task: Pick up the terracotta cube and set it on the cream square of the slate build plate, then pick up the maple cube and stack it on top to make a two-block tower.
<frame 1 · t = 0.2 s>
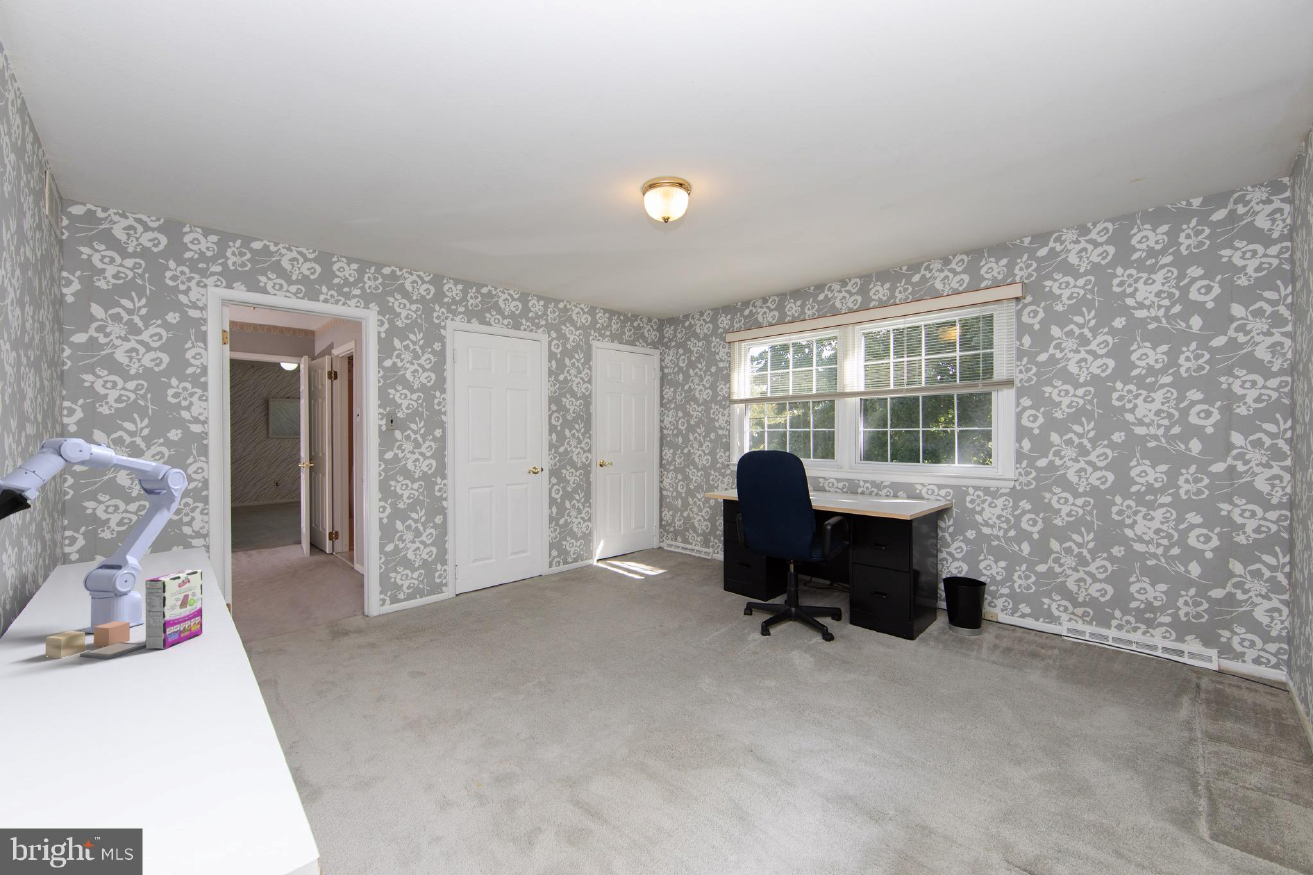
maple cube: (65, 654, 131), on the worktop
candy bar box: (174, 642, 139), on the worktop
terracotta cube: (111, 643, 138), on the worktop
build plate: (113, 651, 132), on the worktop
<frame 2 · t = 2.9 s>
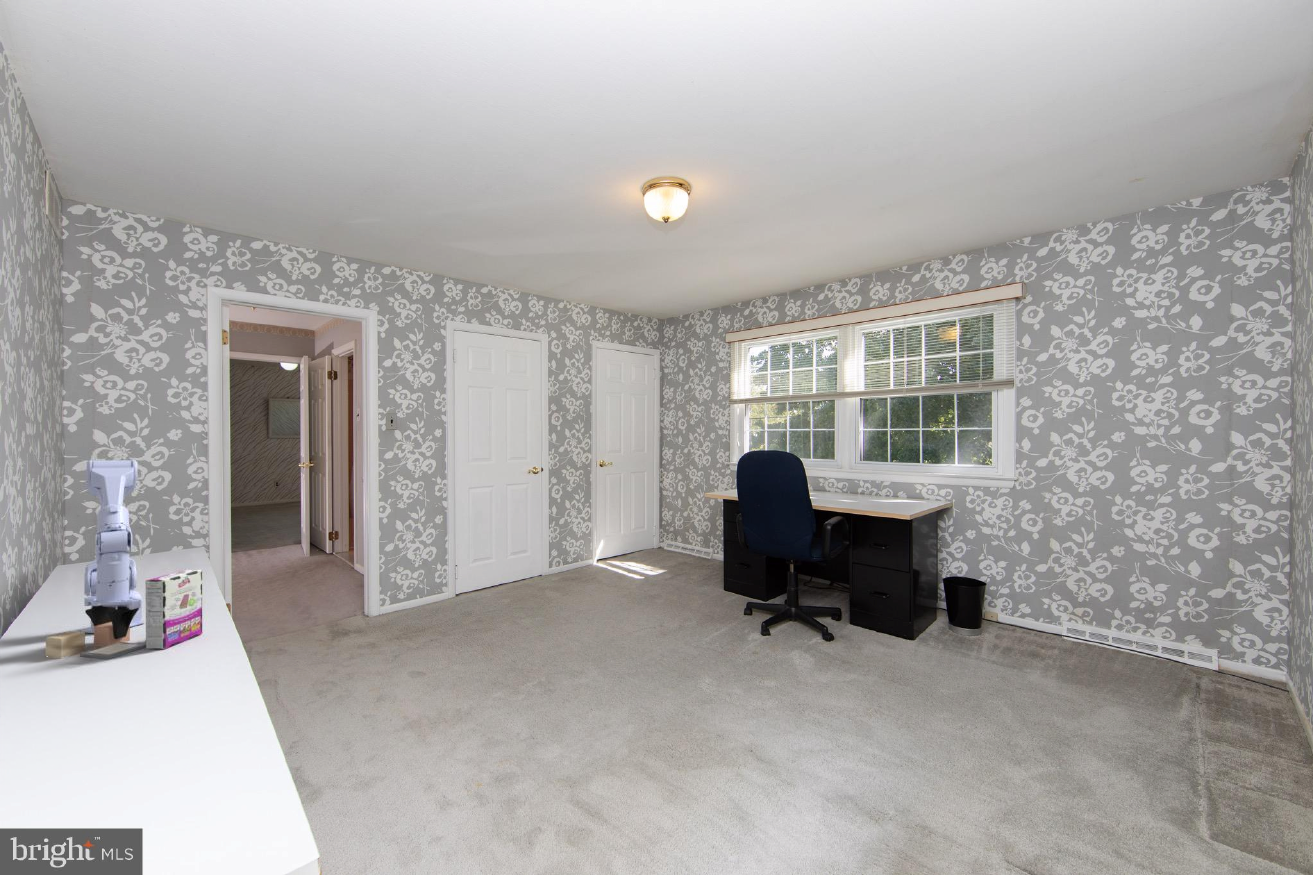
hand: (111, 636, 138), 1 cm above the worktop, tool pointing down, fingers closed on terracotta cube, 4 cm apart
terracotta cube: (111, 642, 138), on the worktop, touching gripper
everything else where it was.
when the fingers open (3 cm above the worktop, at t = 6.1 s): terracotta cube stays where it is, resting on build plate.
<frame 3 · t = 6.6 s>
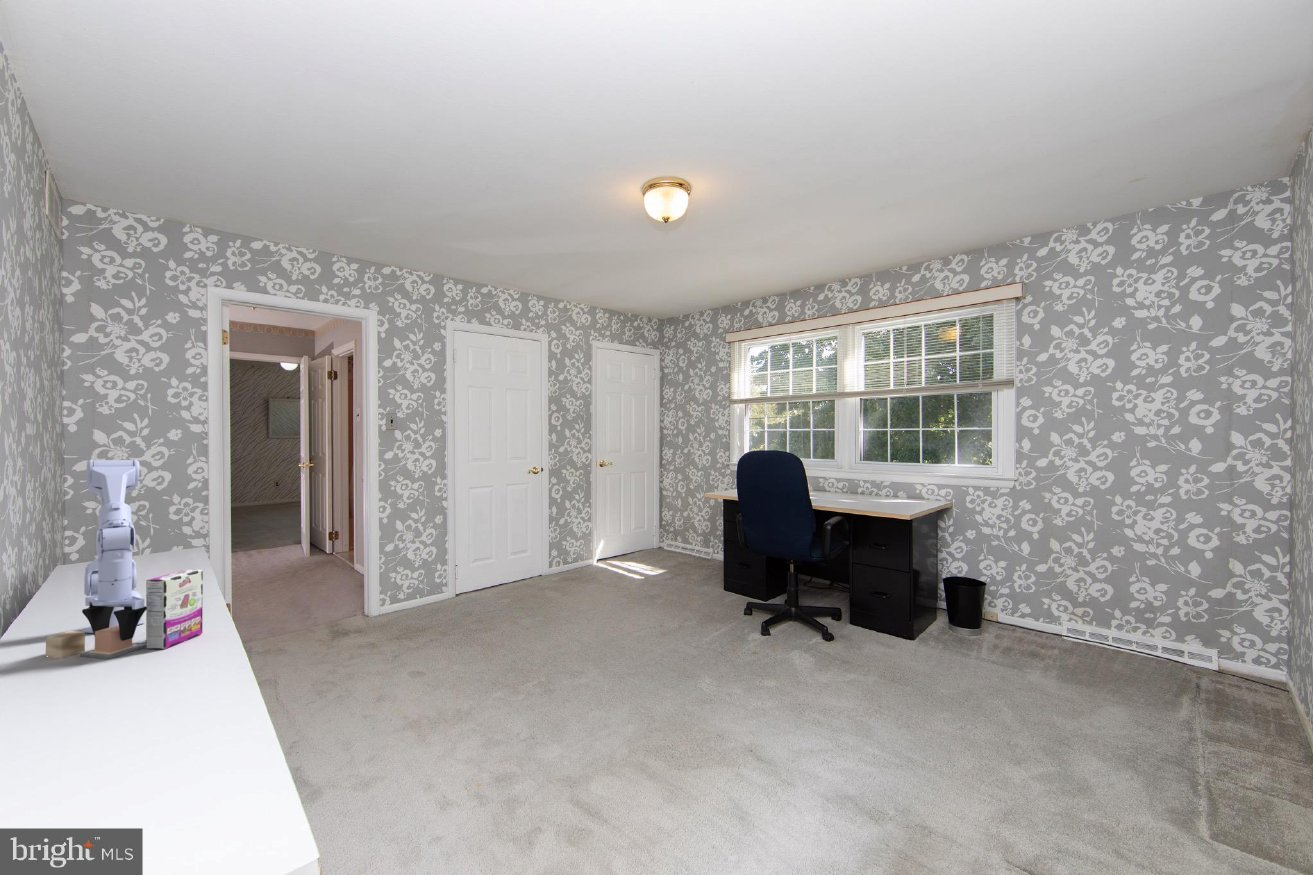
hand: (114, 638, 132), 3 cm above the worktop, tool pointing down, fingers open, 7 cm apart
candy bar box: (174, 642, 139), on the worktop, touching gripper
terracotta cube: (113, 648, 132), point 1 cm above the worktop, touching build plate
everything else where it was.
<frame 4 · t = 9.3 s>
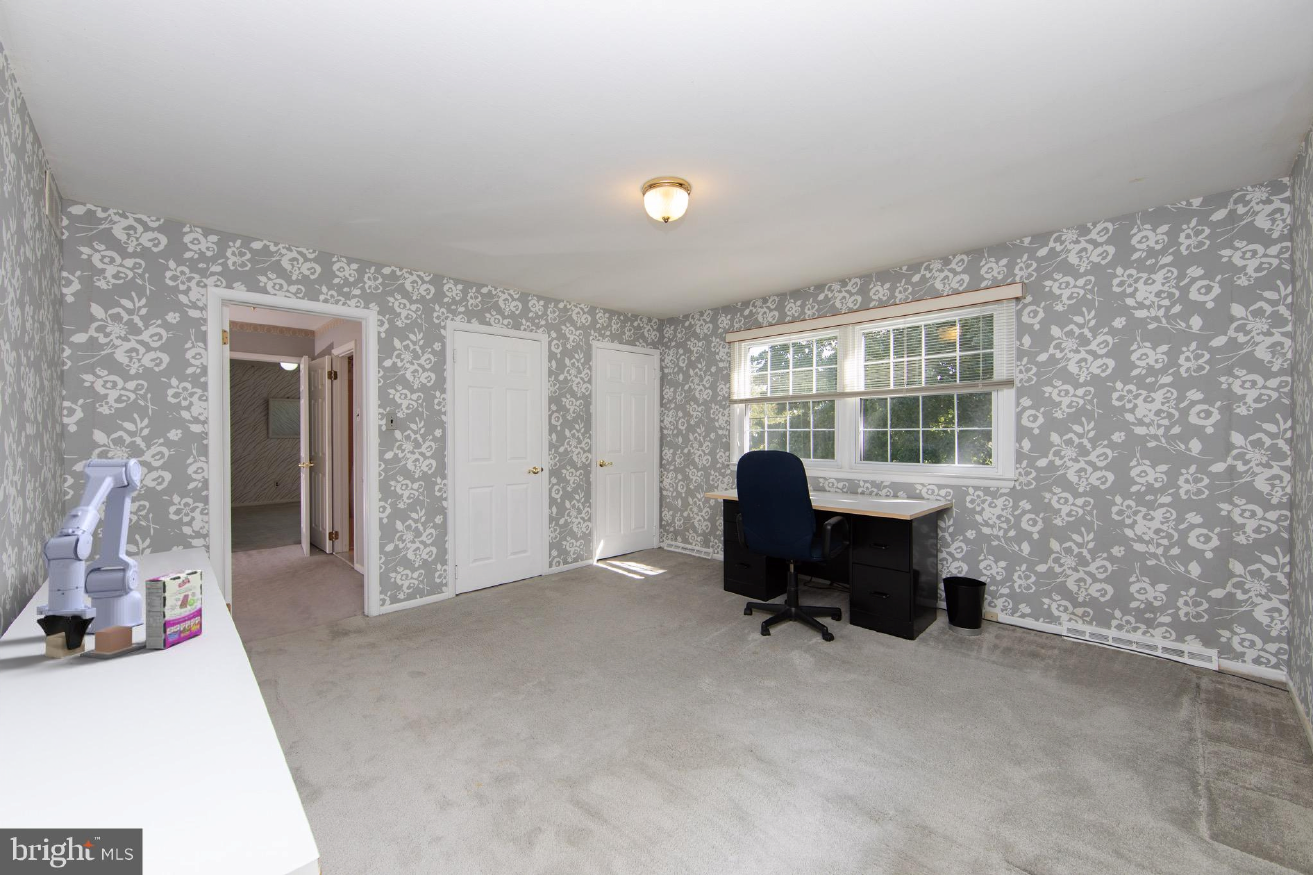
hand: (65, 647, 131), 1 cm above the worktop, tool pointing down, fingers closed on maple cube, 4 cm apart
maple cube: (65, 654, 131), on the worktop, touching gripper
candy bar box: (174, 642, 139), on the worktop
everything else where it was.
when the fingers open (8 cm above the worktop, at t = 11.7 s): maple cube stays where it is, resting on terracotta cube.
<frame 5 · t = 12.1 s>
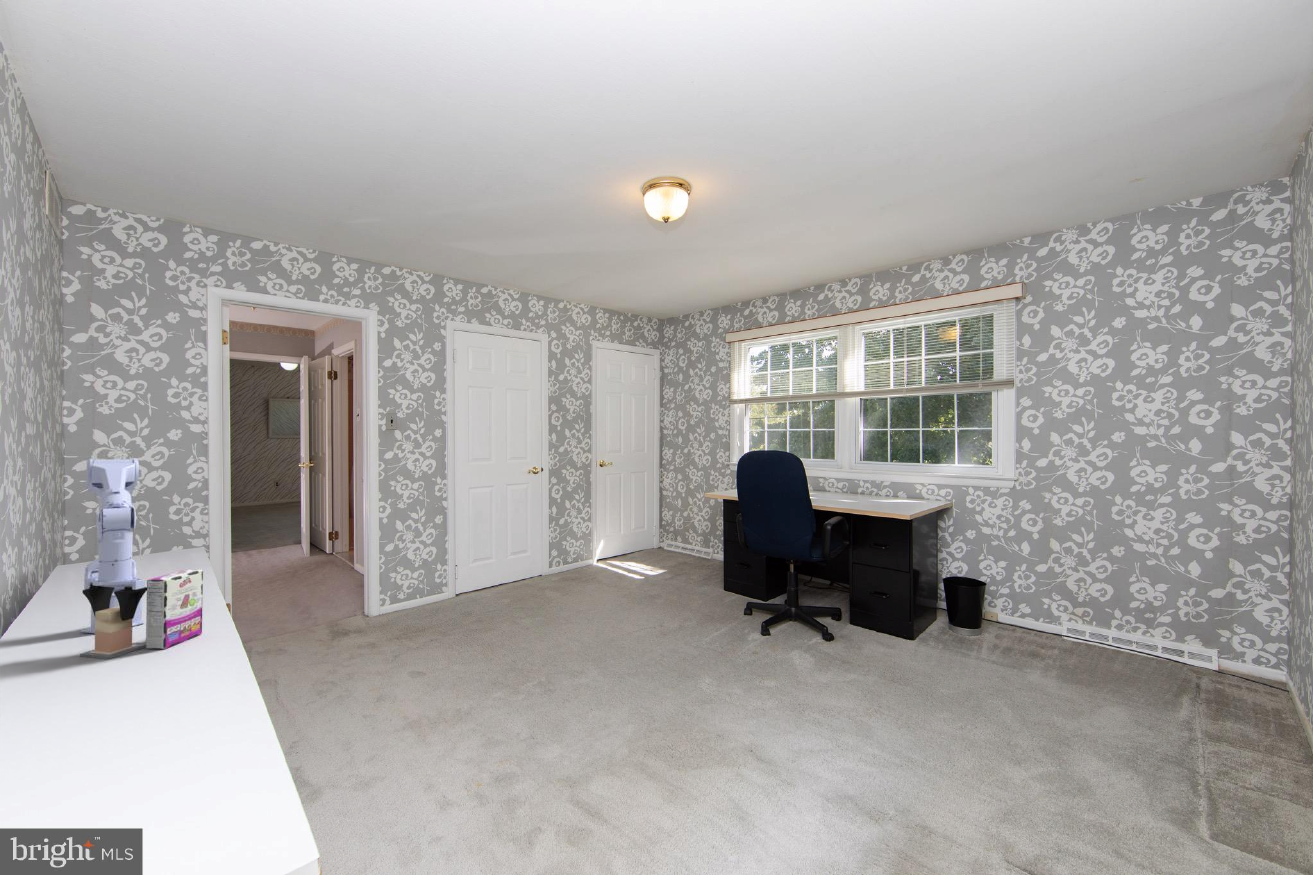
hand: (114, 618, 132), 8 cm above the worktop, tool pointing down, fingers open, 7 cm apart
maple cube: (113, 629, 132), point 5 cm above the worktop, touching terracotta cube
candy bar box: (174, 642, 139), on the worktop, touching gripper
terracotta cube: (113, 648, 132), point 1 cm above the worktop, touching build plate, maple cube
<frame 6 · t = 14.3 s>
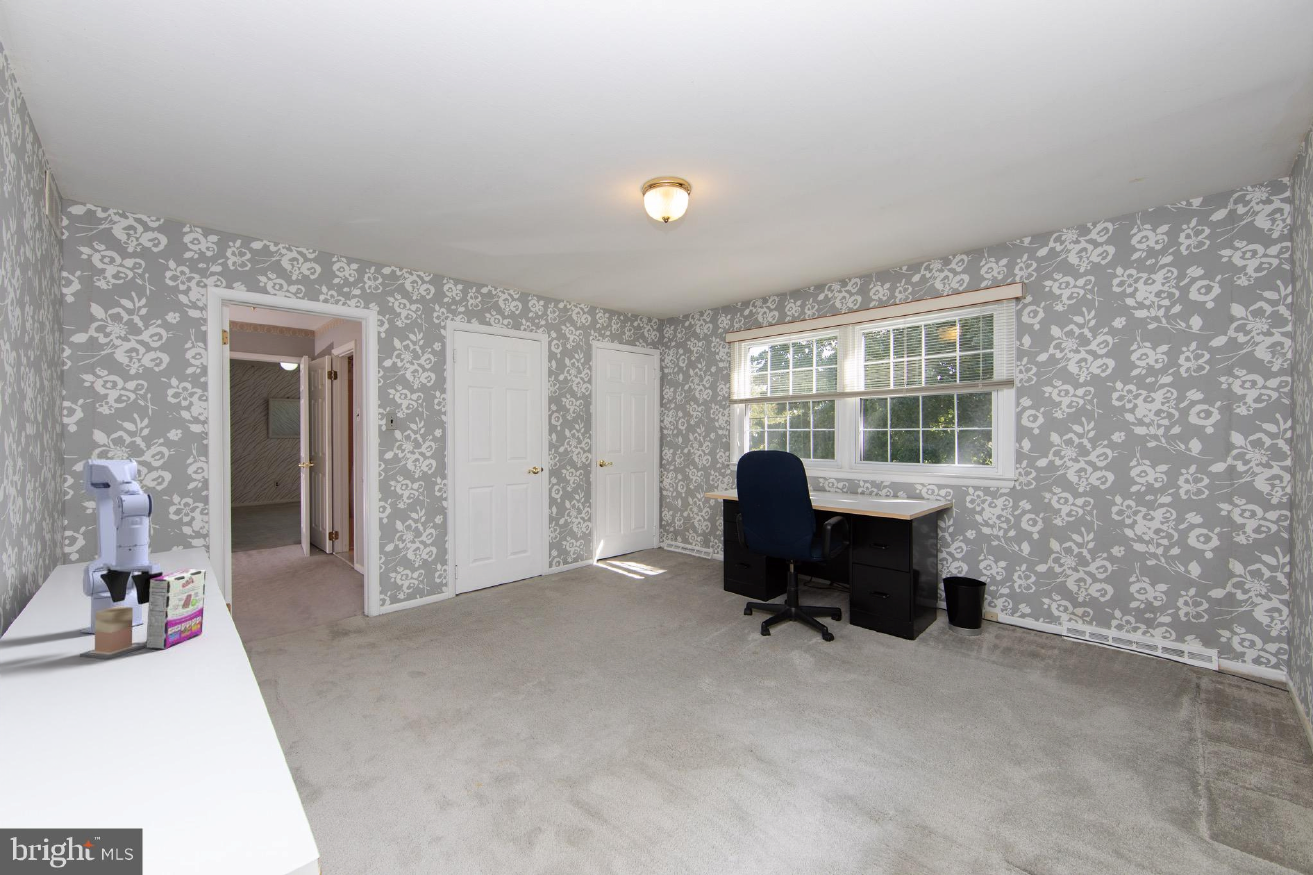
hand: (131, 602, 136), 10 cm above the worktop, tool pointing down, fingers open, 7 cm apart
nothing on the worktop moved.
at the end: terracotta cube 0.1 cm off-centre on the build plate, point 0.7 cm above the build plate's base; maple cube 0.1 cm off-centre on the build plate, point 5.2 cm above the build plate's base; maple cube tilted 0° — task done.
